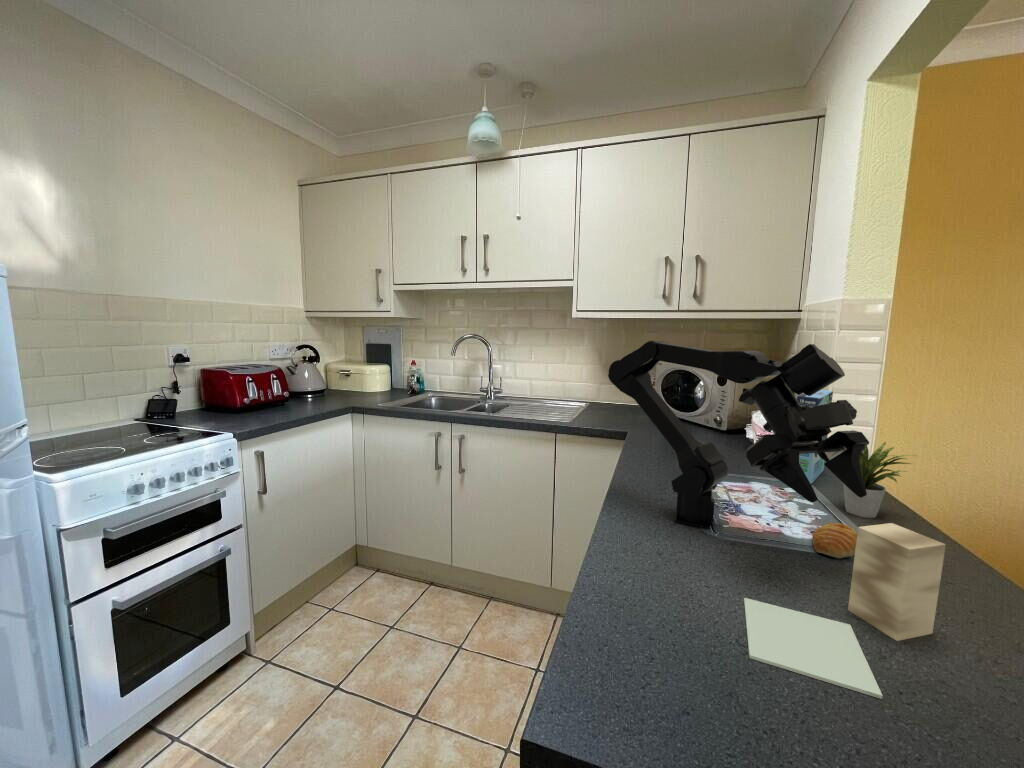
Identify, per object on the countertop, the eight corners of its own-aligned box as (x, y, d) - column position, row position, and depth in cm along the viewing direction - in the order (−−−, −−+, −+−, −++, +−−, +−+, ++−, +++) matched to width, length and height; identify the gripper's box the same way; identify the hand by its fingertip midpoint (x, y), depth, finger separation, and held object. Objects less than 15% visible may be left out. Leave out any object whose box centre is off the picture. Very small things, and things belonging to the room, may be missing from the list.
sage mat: (749, 658, 49) (749, 654, 49) (743, 600, 59) (744, 597, 59) (882, 699, 43) (882, 695, 43) (849, 627, 54) (850, 624, 54)
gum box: (803, 467, 122) (812, 388, 119) (825, 471, 118) (834, 390, 115) (786, 482, 108) (795, 395, 105) (810, 488, 104) (819, 397, 102)
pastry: (851, 567, 69) (853, 545, 68) (802, 551, 74) (804, 530, 73) (863, 549, 75) (865, 528, 74) (818, 535, 80) (820, 516, 80)
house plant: (891, 536, 79) (902, 452, 77) (808, 509, 91) (816, 436, 89) (916, 520, 87) (927, 443, 85) (837, 497, 99) (845, 429, 97)
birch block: (847, 610, 58) (858, 527, 56) (881, 604, 59) (891, 523, 58) (896, 641, 52) (909, 549, 50) (932, 633, 53) (945, 544, 52)
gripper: (767, 382, 63) (831, 478, 53) (863, 381, 67) (938, 469, 58) (724, 423, 71) (773, 512, 62) (812, 419, 76) (870, 502, 66)
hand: (839, 498), depth 62 cm, fingers open, 9 cm apart
